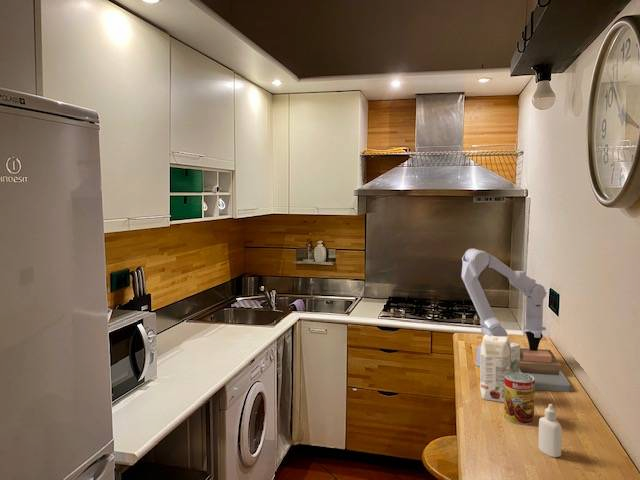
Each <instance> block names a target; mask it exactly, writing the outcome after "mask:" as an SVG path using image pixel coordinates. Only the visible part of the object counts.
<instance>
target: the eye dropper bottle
mask: <svg viewBox="0 0 640 480" xmlns="http://www.w3.org/2000/svg"><path fill="white" fill-rule="evenodd" d="M562 428H563V427H562V425H561V423H560V422H559V421H558V420H557V411H556V409H554V408H553V404H552V403H549V404H548V407H546V408H545V409H544V416H542V417H540V418H539V420H538V442H537V443H538V444H537V445H538V449H539V450H540V451H541V452H542V453H543V454H545V455H547V456H548V457H551V458H558V457H561V456H562V436H563V435H562V433H563V432H562Z"/></svg>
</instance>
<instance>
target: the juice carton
mask: <svg viewBox="0 0 640 480" xmlns="http://www.w3.org/2000/svg"><path fill="white" fill-rule="evenodd" d="M510 342H511V341H510V337H509V336H507V337H506V336H492V335H484V336H483V338H482V340H481V362H480V371H479V372H480V375H479V377H480V379H479V380H480V381H479V386H480V387H479V388H480V390H479V391H480V394H481V398H482V400H485V401H492V402H493V401H494V402H499V403H504V375H505V374H506V373H510V364H511V345H510Z"/></svg>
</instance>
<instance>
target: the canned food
mask: <svg viewBox="0 0 640 480" xmlns="http://www.w3.org/2000/svg"><path fill="white" fill-rule="evenodd" d="M535 391H536V390H535V378H534V377H533V376H531V375H529V374H526V373H521V372H510V373H506V374H505V375H504V402H503V418H504V419H505V420H506V421H508V422H509V423H512V424H515V425H523V426H524V425H525V426H526V425H530V424H532V423H534V421H535Z"/></svg>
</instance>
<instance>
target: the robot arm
mask: <svg viewBox="0 0 640 480" xmlns="http://www.w3.org/2000/svg"><path fill="white" fill-rule="evenodd" d="M461 260H462V265H461V266H462V267H461V274H460V275H461V280H462V281H463V284H464V285H465V288H466V291H467V293H468V295H469V297H470V300H471V301H472V303H473V306H474V308H475V310H476V313H477V316H478V317H479V319H480V320H479V324H480V330H481V331H480V332H481V334H482V336H483V337H484V335H492V336H506V337H508V332H507V330H506V329H505V328H503V327H502V325H501V323H500V322H499V320H498V319H497V318H496V317H495V314H494V312H493V310H492V308H491V306H490V303H489V301H488V299H487V296H486V294H485V292H484V290H483V287H482V285H481V283H480V281H479V276H480V275H481V273H482V271H484V270H485V269H486V268H492V269H493V270H495V271H497V272H499V273H500V274H501V275H503V276H504V277H506V278H507V279H508V282H509V284H510V285H511V286H513V287H514V288H516V289H517V290H518V291H520V292H522V293H523V294H524V296H525V297H526V298H525V326H524V329H525V330H526V331H524V332H525V335H526V338H527V342H528V347H529V348H528V349H530V350H531V351H537V350H538V349H539V346H540V342H541V341H542V339H543V337H544V335H543V333H542V332H543V331H546V330H547V328H546V327H545V326H543V325H544V323H543V319H544V318H543V315H544V314H543V313H544V311H543V310H544V299H546V296H547V291H546V289H545V286H543V285H541V284H540V283H537V282H536V279H534V278H531V277H529V276H528V275H526V274H527V273H526V272H525V271H522V270H521V271H520V270H513V269H512V268H511V267H509V266H508V265H506V264H505V263H504V262H503V261H501V260H500V259H498V258H497V257H496V256H494V255H492V254H490V253H488V252H487V251H485V250H481V249H477V248H474V247H473V248H468V249H467V250H466V251H465V253H464V254H463V256H462V257H461ZM480 362H481V344H478V346H477V347H476V362H475V364H474V365H475V366H477V367H480Z"/></svg>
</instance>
